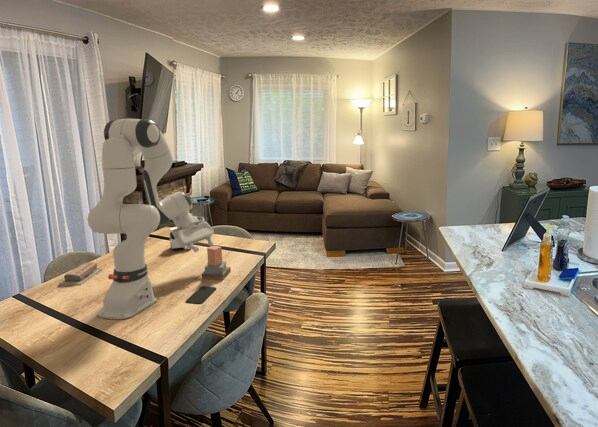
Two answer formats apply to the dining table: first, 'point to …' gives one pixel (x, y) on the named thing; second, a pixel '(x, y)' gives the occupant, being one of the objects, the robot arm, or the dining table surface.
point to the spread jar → (173, 242)
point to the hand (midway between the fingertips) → (204, 248)
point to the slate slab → (215, 268)
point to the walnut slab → (217, 275)
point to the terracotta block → (214, 255)
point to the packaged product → (80, 274)
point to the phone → (200, 295)
